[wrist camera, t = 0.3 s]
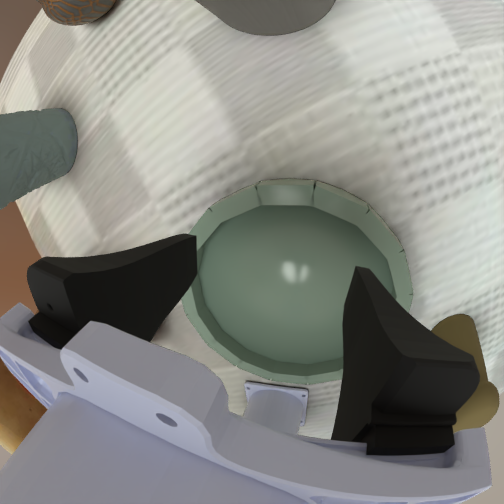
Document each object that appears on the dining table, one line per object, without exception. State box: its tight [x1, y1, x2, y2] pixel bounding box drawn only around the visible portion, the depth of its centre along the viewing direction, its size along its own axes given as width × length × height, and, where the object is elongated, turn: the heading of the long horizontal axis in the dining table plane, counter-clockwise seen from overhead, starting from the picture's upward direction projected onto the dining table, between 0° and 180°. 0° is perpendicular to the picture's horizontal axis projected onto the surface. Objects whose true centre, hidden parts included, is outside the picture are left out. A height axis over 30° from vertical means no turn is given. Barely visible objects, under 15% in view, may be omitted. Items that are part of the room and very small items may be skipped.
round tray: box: [181, 178, 413, 385], centre depth 23 cm, size 20×20×2 cm
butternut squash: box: [0, 310, 48, 454], centre depth 21 cm, size 14×13×25 cm
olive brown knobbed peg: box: [431, 314, 499, 433], centre depth 17 cm, size 6×6×11 cm
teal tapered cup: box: [0, 108, 78, 210], centre depth 19 cm, size 10×10×12 cm
